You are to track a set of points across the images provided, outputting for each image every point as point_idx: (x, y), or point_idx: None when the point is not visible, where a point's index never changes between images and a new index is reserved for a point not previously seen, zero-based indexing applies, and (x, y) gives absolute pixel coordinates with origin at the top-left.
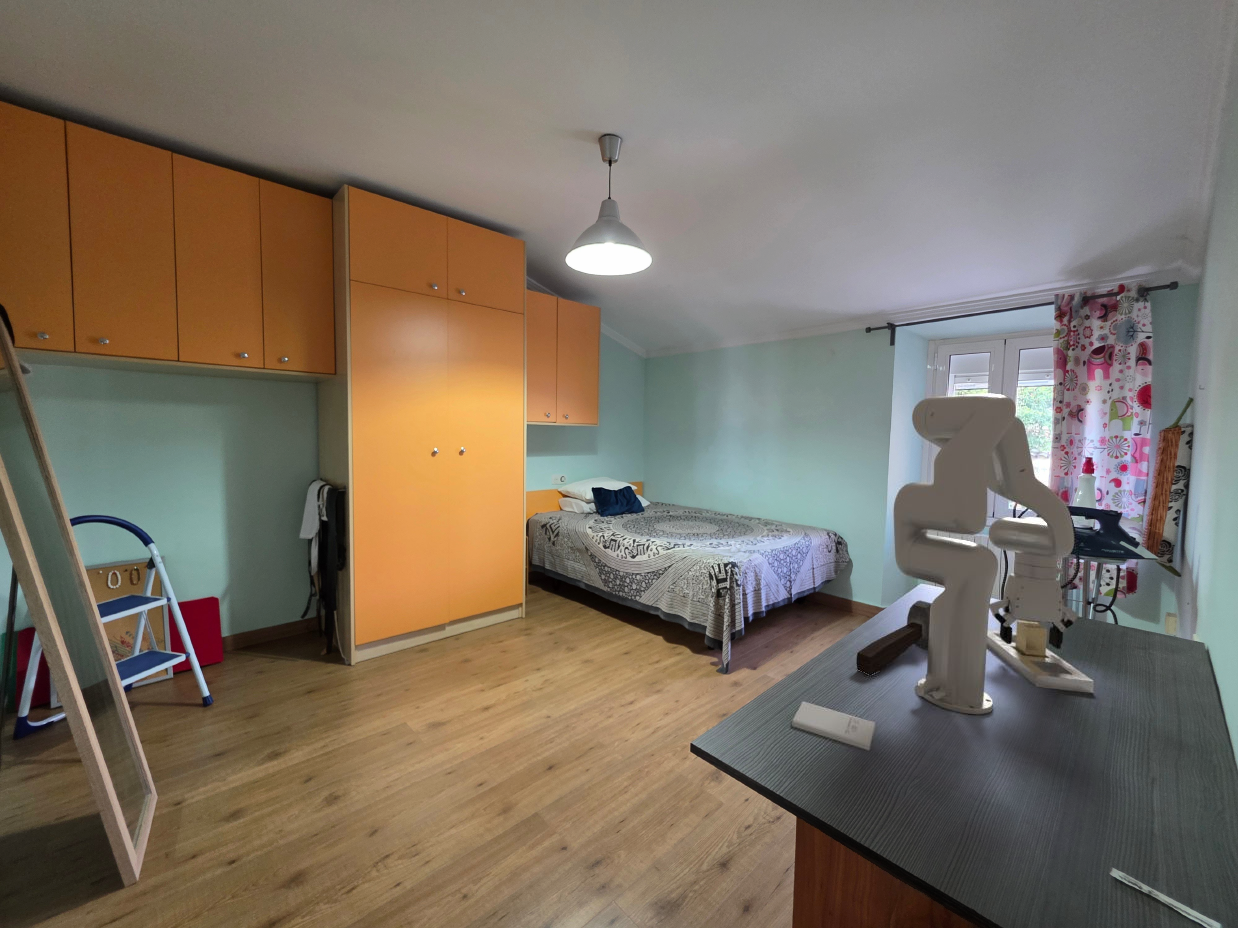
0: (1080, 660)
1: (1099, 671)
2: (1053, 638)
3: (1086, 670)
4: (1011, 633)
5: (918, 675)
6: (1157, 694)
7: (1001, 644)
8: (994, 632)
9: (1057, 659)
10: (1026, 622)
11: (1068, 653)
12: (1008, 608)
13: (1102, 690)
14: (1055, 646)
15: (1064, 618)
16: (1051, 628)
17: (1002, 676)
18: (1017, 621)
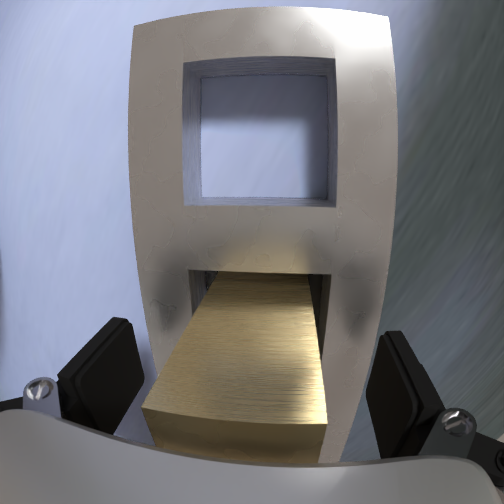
0: (498, 225)
1: (482, 318)
2: (382, 399)
3: (449, 324)
4: (118, 418)
5: (7, 391)
6: (482, 413)
7: (150, 259)
8: (196, 48)
9: (341, 387)
10: (214, 433)
11: (499, 153)
12: (15, 438)
13: (368, 441)
14: (368, 390)
15: (500, 482)
16: (405, 424)
17: (128, 410)
18: (145, 407)
